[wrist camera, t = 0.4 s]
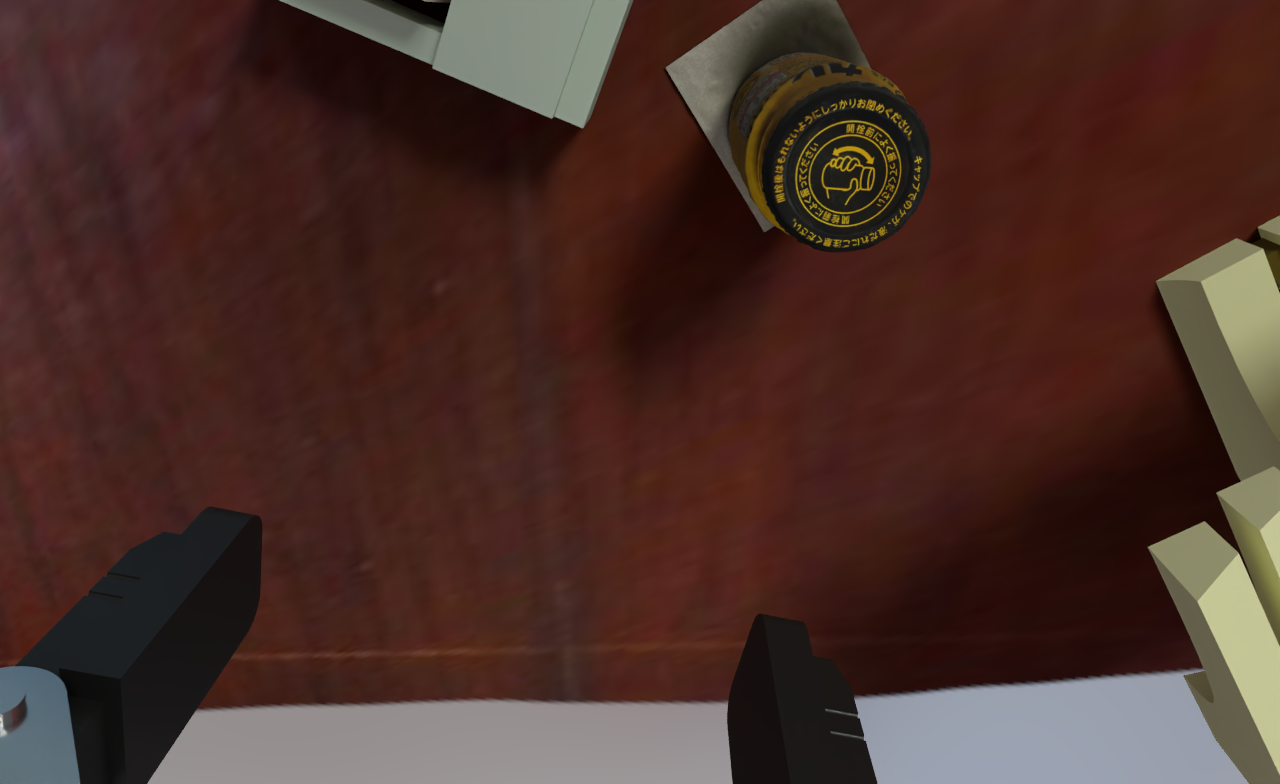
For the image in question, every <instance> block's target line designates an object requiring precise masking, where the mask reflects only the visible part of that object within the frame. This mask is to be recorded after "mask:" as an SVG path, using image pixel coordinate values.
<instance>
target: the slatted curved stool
mask: <svg viewBox="0 0 1280 784" xmlns="http://www.w3.org/2000/svg"><path fill="white" fill-rule="evenodd" d="M1257 228H1258V231H1259V233H1260V236H1261V239H1259V240H1258V241H1256V242H1254V243H1252V244H1250V243H1247V242H1244V241H1242V240H1239V239H1237V238H1236V239H1234V240H1233V241H1231V242H1229V243H1227V244H1225V245H1223V246H1221V247H1219V248H1217V249H1216V250H1214V251H1212V252H1210V253H1208V254H1206V255H1204V256H1202V257H1200V258H1199V259H1197V260H1195V261H1193V262H1191V263H1189V264H1187V265H1185V266H1183V267H1182V268H1180V269H1178V270H1176V271H1174V272H1172V273H1170V274H1168V275H1166V276H1165V277H1163V278H1161V279H1159V280H1157V281H1156V283H1157V286H1158V288H1159V290H1160V293H1161V295H1162V297H1163V300H1164V302H1165V305H1166V307H1167V309H1168V312H1169V314H1170V316H1171V319H1172V321H1173V324H1174V326H1175V328H1176V331H1177V333H1178V335H1179V338H1180V340H1181V343H1182V345H1183V347H1184V350H1185V352H1186V354H1187V357H1188V359H1189V362H1190V364H1191V366H1192V369H1193V371H1194V373H1195V376H1196V378H1197V381H1198V383H1199V385H1200V388H1201V390H1202V393H1203V395H1204V397H1205V400H1206V402H1207V404H1208V407H1209V409H1210V412H1211V414H1212V416H1213V419H1214V421H1215V423H1216V426H1217V428H1218V431H1219V433H1220V435H1221V438H1222V440H1223V442H1224V445H1225V447H1226V450H1227V452H1228V454H1229V457H1230V459H1231V461H1232V464H1233V466H1234V469H1235V471H1236V473H1237V475H1238V477H1239V479H1240V480H1241V482H1239V483H1237V484H1234V485H1232V486H1230V487H1228V488H1226V489H1224V490H1221V491H1219V492H1217V493H1216V494H1217V496H1218V498H1219V501H1220V503H1221V505H1222V508H1223V510H1224V512H1225V515H1226V517H1227V520H1228V522H1229V524H1230V527H1231V529H1232V531H1233V534H1234V536H1235V539H1236V541H1237V543H1238V546H1239V548H1240V551H1241V553H1242V556H1243V558H1244V561H1245V563H1246V566H1247V568H1248V571H1249V573H1250V576H1251V578H1252V581H1253V584H1254V586H1255V589H1256V591H1255V589H1254V587H1253V585H1252V582H1251V580H1250V578H1249V575H1248V573H1247V571H1246V569H1245V566H1244V564H1243V562H1242V560H1241V557H1240V555H1239V553H1238V552H1237V551H1236V550H1235V549H1234V548H1233V547H1232V546H1231V545H1229V544H1228V543H1227V542H1226V541H1225V540H1224V539H1223V538H1222V537H1221V536H1220V535H1219V534H1218V533H1217V532H1216V531H1214V530H1213V529H1212V528H1211V527H1210V526H1209V525H1208V524H1207V523H1206V522H1205V521H1204V522H1202V523H1200V524H1197V525H1195V526H1193V527H1191V528H1189V529H1186V530H1184V531H1182V532H1180V533H1178V534H1175V535H1173V536H1171V537H1169V538H1167V539H1164V540H1162V541H1160V542H1158V543H1156V544H1153V545H1151V546H1149V547H1148V549H1149V551H1150V553H1151V555H1152V557H1153V559H1154V561H1155V563H1156V565H1157V567H1158V569H1159V571H1160V574H1161V576H1162V578H1163V580H1164V582H1165V584H1166V586H1167V588H1168V590H1169V592H1170V595H1171V597H1172V599H1173V601H1174V603H1175V605H1176V607H1177V610H1178V612H1179V614H1180V616H1181V618H1182V620H1183V622H1184V625H1185V627H1186V629H1187V631H1188V633H1189V636H1190V638H1191V640H1192V642H1193V645H1194V647H1195V649H1196V651H1197V654H1198V656H1199V658H1200V661H1201V663H1202V665H1203V668H1204V670H1205V671H1202V672H1198V673H1193V674H1189V675H1184V678H1185V680H1186V682H1187V684H1188V686H1189V688H1190V690H1191V692H1192V694H1193V696H1194V698H1195V700H1196V702H1197V704H1198V706H1199V707H1200V710H1201V712H1202V713H1203V716H1204V718H1205V720H1206V722H1207V723H1208V725H1209V727H1210V729H1211V731H1212V733H1213V735H1214V737H1215V739H1216V741H1217V742H1218V743H1219V744H1220V746H1221V747H1222V749H1223V750H1224V751H1225V752H1226V754H1227V755H1228V756H1229V758H1230V759H1231V760H1232V761H1233V763H1234V764H1235V765H1236V767H1237V768H1238V769H1239V771H1240V772H1241V773H1242V775H1243V776H1244V777H1245V779H1246V780H1247V781H1248V783H1249V784H1280V293H1279V290H1278V287H1277V285H1276V281H1277V283H1278V286H1279V289H1280V216H1278V217H1276V218H1274V219H1272V220H1270V221H1268V222H1267V223H1265V224H1263V225H1261V226H1259V227H1257ZM1256 592H1257V594H1258V596H1257V594H1256ZM1258 597H1259V598H1258ZM1259 600H1260V601H1259ZM1260 602H1261V603H1260Z"/></svg>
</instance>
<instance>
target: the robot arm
mask: <svg viewBox="0 0 1280 784" xmlns="http://www.w3.org/2000/svg"><path fill="white" fill-rule="evenodd" d="M261 553H262V521H261V518H260V517H259V516H257V515H251V514H246V513H241V512H236V511H231V510H225V509H220V508H215V507H208V508H206V509H205V510H203V511H202V512H201V514H200V515H199V516H198V517H197V518H196V519H195V520H194V521H193V522H192V523H191V524H190V525H189V527H188V528H187V529H186V530H185V531H184V532H183V533H182V534H181V535H178V534H173V533H168V532H163V533H161V534H159V535H157V536H155V537H153V538H151V539H149V540H147V541H145V542H143V543H141V544H140V545H138V546H136V547H134V548H132V549H130V550H129V551H128V552H127V553H126V554H125V555H124V556H123V557H122V558H121V559H120V560H119V561H118V562H117V563H116V564H115V565H114V566H113V567H112V568H111V570H110V571H109V572H108V575H107V577H103V578H102V579H101V580H100V581H99V582H98V583H97V584H96V585H95V586H94V587H93V588H92V589H91V590H90V591H89V595H88V596H84V597H83V598H82V599H81V600H80V601H79V602H78V603H77V604H76V605H75V606H74V607H73V608H72V609H71V610H70V611H69V612H68V613H67V614H66V615H65V616H64V617H63V618H62V619H61V620H60V621H59V622H58V623H57V624H56V625H55V626H54V627H53V628H52V629H51V630H50V631H49V632H48V633H47V634H46V635H45V636H44V637H43V638H42V639H41V640H40V641H39V642H38V643H37V644H36V646H35V647H34V648H33V649H32V650H31V651H30V652H29V653H28V654H27V655H26V656H25V657H24V658H23V659H22V660H21V661H20V662H19V663H18V664H17V665H16V666H14V667H5V668H0V784H147V783H148V781H149V779H150V778H151V777H152V775H153V774H154V772H155V771H156V769H157V768H158V766H159V765H160V763H161V762H162V760H163V759H164V757H165V756H166V754H167V753H168V751H169V750H170V748H171V747H172V745H173V744H174V742H175V741H176V739H177V738H178V736H179V735H180V733H181V732H182V730H183V729H184V727H185V726H186V724H187V723H188V721H189V720H190V718H191V717H192V715H193V714H194V712H195V711H196V709H197V708H198V706H199V705H200V703H201V702H202V700H203V699H204V697H205V696H206V694H207V693H208V691H209V690H210V688H211V687H212V685H213V684H214V682H215V681H216V679H217V678H218V676H219V675H220V673H221V672H222V670H223V669H224V667H225V666H226V664H227V663H228V661H229V660H230V658H231V657H232V655H233V654H234V652H235V651H236V649H237V648H238V646H239V645H240V643H241V642H242V640H243V639H244V637H245V636H246V634H247V633H248V631H249V629H250V627H251V625H252V623H253V620H254V617H255V614H256V611H257V608H258V604H259V598H260V584H261ZM727 715H728V716H727V724H728V736H729V747H730V758H731V769H732V779H733V784H877V780H876V777H875V773H874V770H873V766H872V762H871V758H870V755H869V751H868V748H867V744H866V741H864V733H863V730H862V726H861V722H860V719H859V718H857V715H858V712H857V708H856V704H855V700H854V697H853V693H852V689H851V686H850V685H849V683H848V682H847V680H846V679H845V678H844V676H843V675H842V674H841V672H840V671H839V669H838V668H837V667H836V665H835V664H834V663H833V661H832V660H829V659H824V658H819V657H813V654H812V649H811V645H810V640H809V636H808V632H807V628H806V625H805V624H804V622H801V621H795V620H790V619H785V618H780V617H775V616H769V615H764V614H758V615H757V616H756V618H755V620H754V622H753V624H752V627H751V630H750V633H749V636H748V639H747V642H746V645H745V648H744V651H743V653H742V656H741V659H740V662H739V665H738V668H737V671H736V674H735V677H734V680H733V683H732V686H731V690H730V695H729V702H728V713H727Z"/></svg>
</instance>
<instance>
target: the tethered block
mask: <svg viewBox="0 0 1280 784" xmlns="http://www.w3.org/2000/svg"><path fill="white" fill-rule="evenodd" d="M423 1H425V2H444V3H451V0H423Z"/></svg>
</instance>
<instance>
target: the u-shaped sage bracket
mask: <svg viewBox="0 0 1280 784" xmlns="http://www.w3.org/2000/svg"><path fill="white" fill-rule="evenodd" d="M280 1H282V2H284V3H287V4H289V5H291V6H294V7H296V8H299V9H301V10H303V11H306V12H308V13H310V14H313V15H315V16H317V17H320V18H322V19H325V20H327V21H329V22H332V23H334V24H336V25H339V26H341V27H344V28H346V29H348V30H351V31H353V32H355V33H358V34H360V35H363V36H365V37H367V38H370V39H372V40H374V41H377V42H379V43H381V44H384V45H386V46H389V47H391V48H393V49H396V50H398V51H400V52H403V53H405V54H408V55H410V56H412V57H415V58H417V59H419V60H422V61H424V62H427V63H429V64H431V65H433V69H435V70H437V71H440V72H442V73H445V74H447V75H449V76H452V77H454V78H456V79H459V80H461V81H464V82H466V83H468V84H471V85H473V86H475V87H478V88H480V89H482V90H485V91H487V92H490V93H492V94H494V95H497V96H499V97H501V98H504V99H506V100H509V101H511V102H513V103H516V104H518V105H520V106H523V107H525V108H528V109H530V110H532V111H535V112H537V113H539V114H542V115H544V116H547V117H549V118H551V119H552V118H553V117H554V116H555V117H557V118H559V119H562V120H564V121H566V122H569V123H571V124H573V125H576V126H578V127H581V128H584V126H585V125H586V123H587V122H588V120H589V119H590V117H591V115H592V112H593V109H594V107H595V104H596V101H597V98H598V96H599V93H600V90H601V87H602V85H603V82H604V79H605V77H606V74H607V71H608V68H609V66H610V63H611V60H612V57H613V55H614V52H615V49H616V46H617V44H618V41H619V38H620V35H621V33H622V30H623V27H624V25H625V22H626V19H627V16H628V14H629V11H630V8H631V5H632V3H633V0H451V4H450V7H449V11H448V15H447V18H446V22H445V23H443V22H440V21H438V20H436V19H433V18H431V17H429V16H426V15H424V14H422V13H419V12H417V11H415V10H412V9H410V8H408V7H406V6H403V5H401V4H399V3H396V2H394V1H392V0H280Z"/></svg>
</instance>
